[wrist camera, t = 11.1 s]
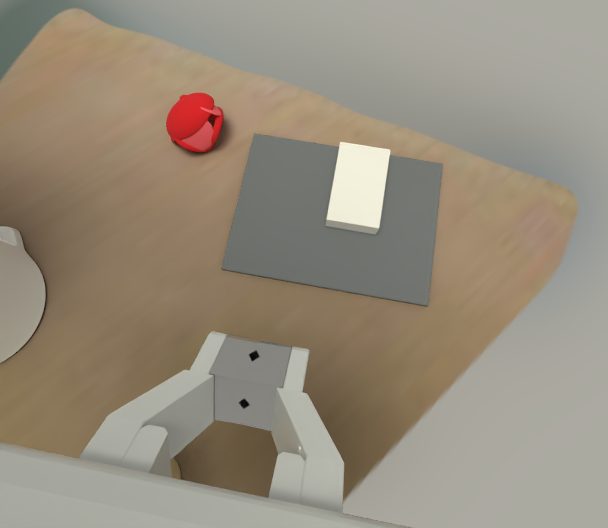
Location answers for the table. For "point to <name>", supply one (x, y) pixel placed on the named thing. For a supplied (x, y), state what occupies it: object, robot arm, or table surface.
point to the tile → (358, 188)
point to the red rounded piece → (195, 122)
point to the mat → (328, 240)
